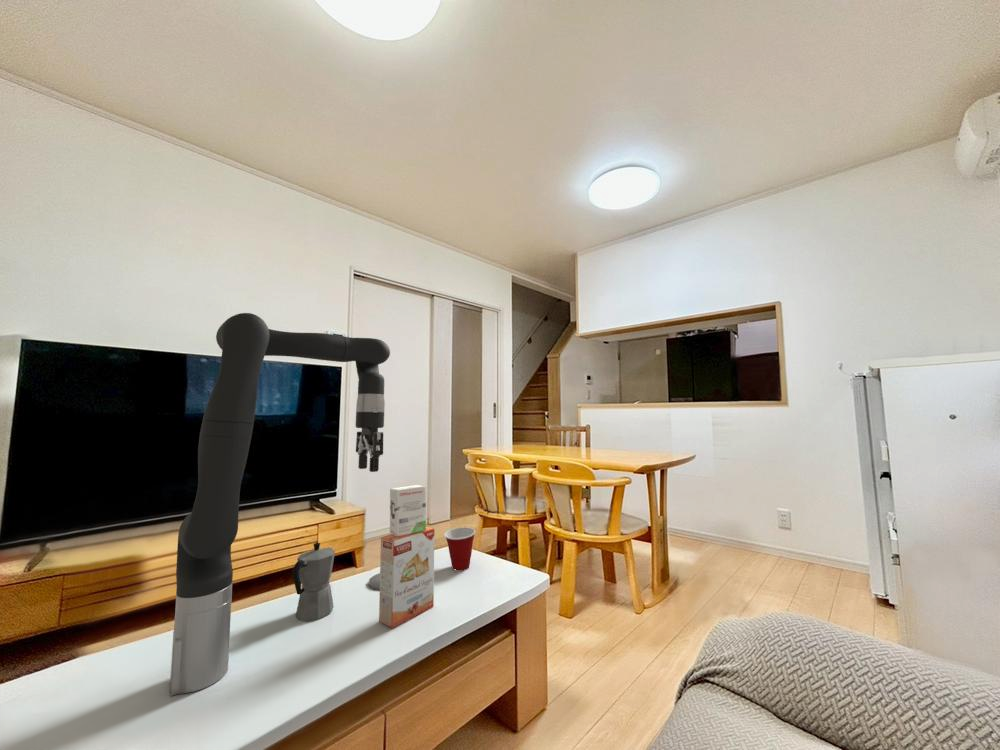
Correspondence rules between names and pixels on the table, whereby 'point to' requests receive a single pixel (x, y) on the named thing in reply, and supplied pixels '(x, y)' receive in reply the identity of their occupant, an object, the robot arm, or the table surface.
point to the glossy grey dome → (375, 581)
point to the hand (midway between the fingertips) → (368, 470)
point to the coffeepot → (314, 583)
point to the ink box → (407, 510)
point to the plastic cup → (460, 546)
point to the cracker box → (406, 576)
